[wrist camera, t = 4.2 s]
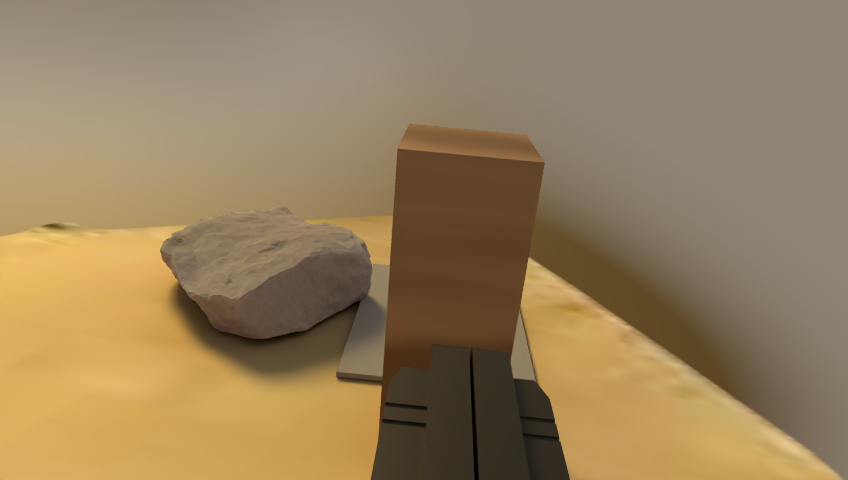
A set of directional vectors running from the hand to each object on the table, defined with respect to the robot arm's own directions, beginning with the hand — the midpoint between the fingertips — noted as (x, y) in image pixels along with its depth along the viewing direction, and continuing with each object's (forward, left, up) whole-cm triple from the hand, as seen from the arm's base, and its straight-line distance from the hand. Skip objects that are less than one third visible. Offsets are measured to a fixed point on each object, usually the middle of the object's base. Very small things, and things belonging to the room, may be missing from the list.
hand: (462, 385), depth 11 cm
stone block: (-2, +24, -10) cm, 26 cm away
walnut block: (+4, +9, -10) cm, 14 cm away
